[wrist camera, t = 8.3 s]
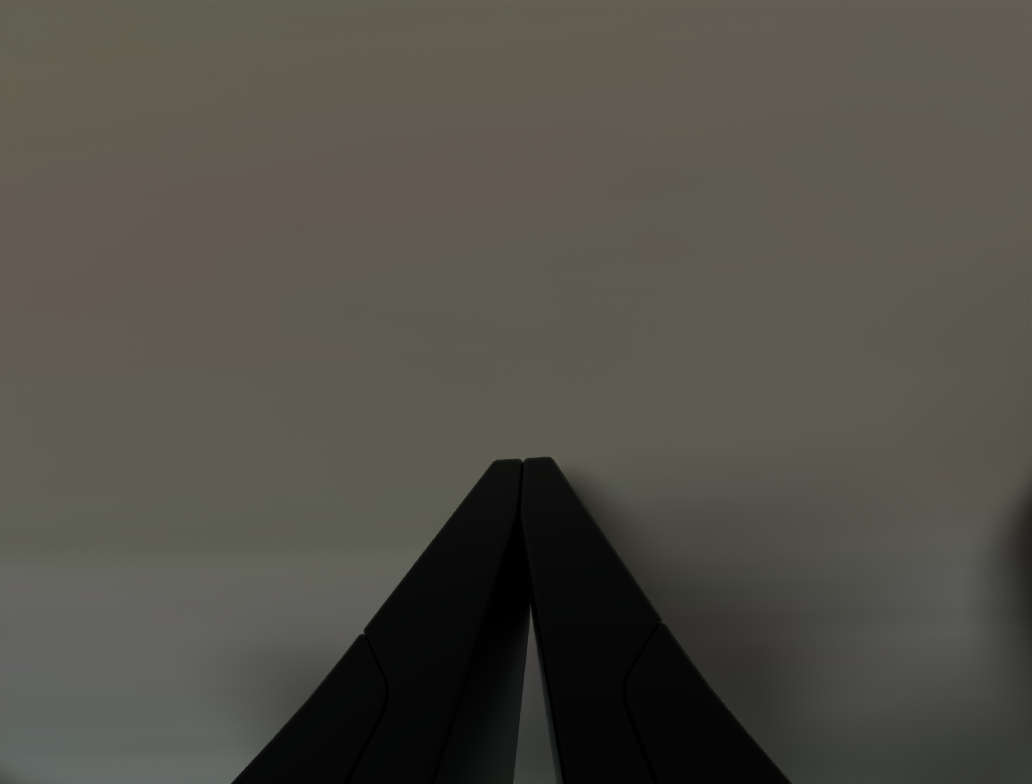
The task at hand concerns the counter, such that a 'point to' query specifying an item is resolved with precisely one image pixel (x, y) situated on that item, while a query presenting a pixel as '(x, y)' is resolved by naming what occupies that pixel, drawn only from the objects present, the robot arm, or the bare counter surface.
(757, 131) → the counter surface
